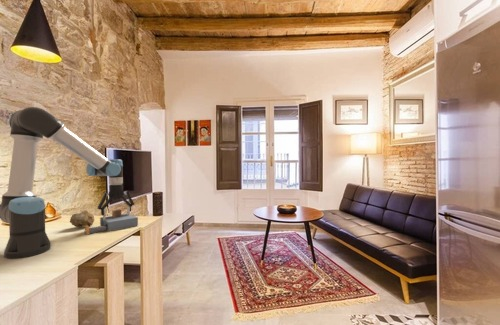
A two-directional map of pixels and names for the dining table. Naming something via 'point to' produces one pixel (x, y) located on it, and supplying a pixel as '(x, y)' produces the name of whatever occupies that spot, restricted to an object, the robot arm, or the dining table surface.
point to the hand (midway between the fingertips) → (116, 218)
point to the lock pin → (95, 229)
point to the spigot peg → (116, 213)
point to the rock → (82, 219)
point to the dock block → (119, 222)
